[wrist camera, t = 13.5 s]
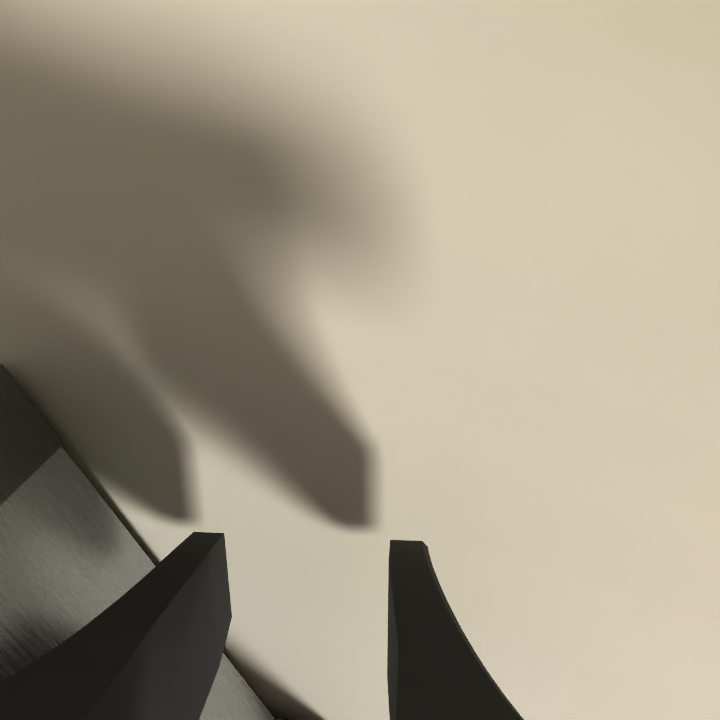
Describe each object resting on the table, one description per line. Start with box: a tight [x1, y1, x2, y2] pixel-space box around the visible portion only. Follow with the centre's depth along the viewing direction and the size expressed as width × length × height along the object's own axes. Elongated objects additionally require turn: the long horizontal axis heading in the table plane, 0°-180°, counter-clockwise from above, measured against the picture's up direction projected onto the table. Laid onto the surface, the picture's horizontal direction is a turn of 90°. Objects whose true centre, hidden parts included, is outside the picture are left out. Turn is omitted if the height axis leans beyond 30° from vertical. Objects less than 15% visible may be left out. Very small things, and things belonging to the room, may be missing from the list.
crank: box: [0, 364, 286, 720], centre depth 13 cm, size 14×4×5 cm, turn 30°
